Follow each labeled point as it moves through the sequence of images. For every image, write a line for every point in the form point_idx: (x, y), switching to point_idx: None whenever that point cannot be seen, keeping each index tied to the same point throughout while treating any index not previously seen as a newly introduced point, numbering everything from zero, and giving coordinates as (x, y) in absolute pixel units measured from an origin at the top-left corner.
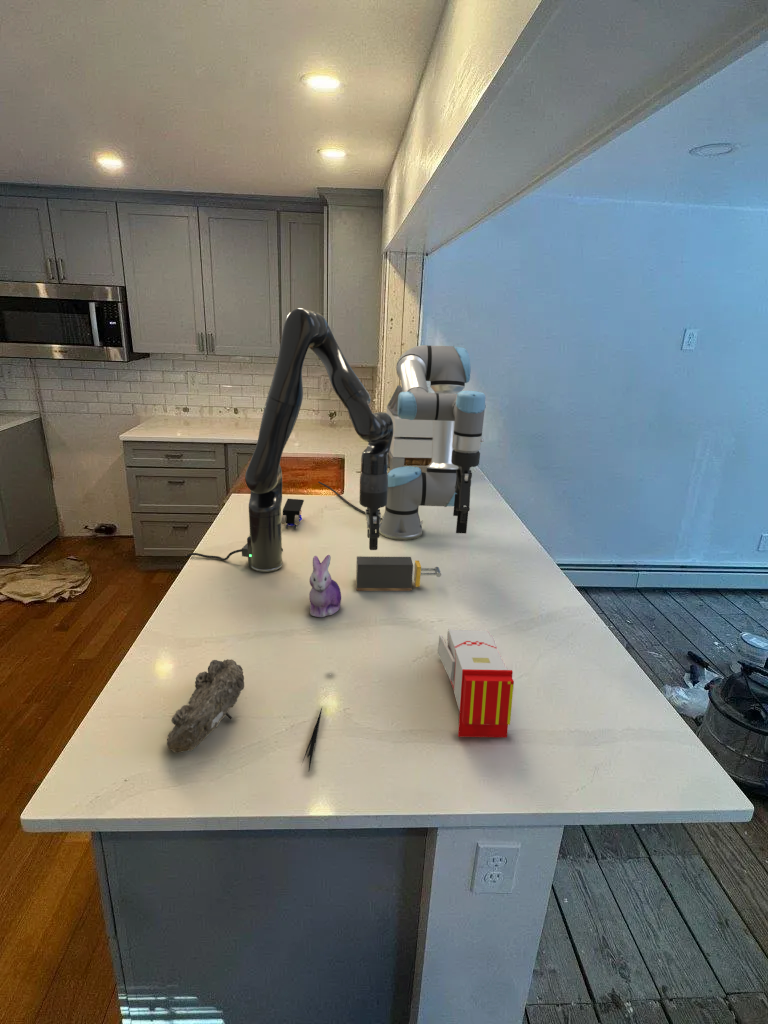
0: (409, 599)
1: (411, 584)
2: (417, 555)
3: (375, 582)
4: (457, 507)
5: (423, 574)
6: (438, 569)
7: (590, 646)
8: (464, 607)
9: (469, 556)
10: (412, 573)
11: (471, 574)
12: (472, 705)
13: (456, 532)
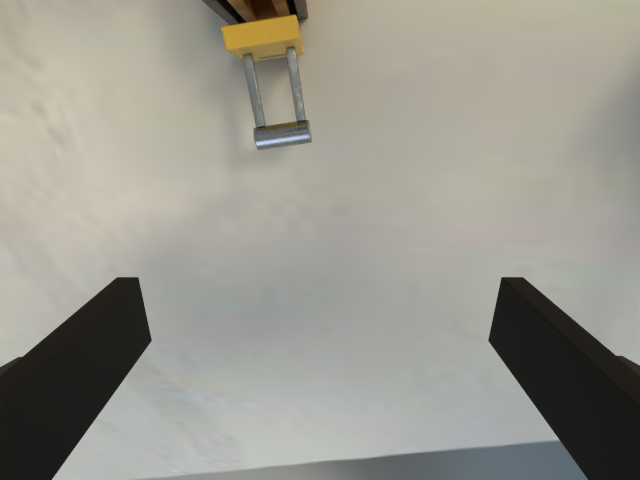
0: (164, 22)
1: (227, 22)
2: (562, 54)
3: None
4: (538, 349)
5: (245, 70)
6: (283, 138)
7: (77, 449)
8: (164, 215)
9: (536, 258)
10: (214, 10)
11: (393, 253)
12: None
13: (114, 281)
